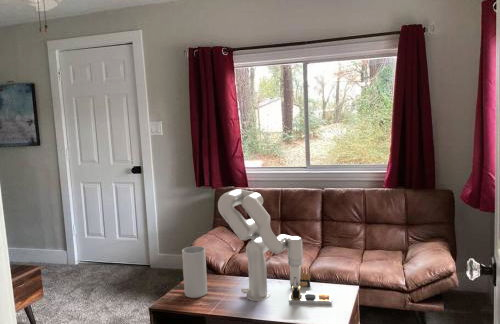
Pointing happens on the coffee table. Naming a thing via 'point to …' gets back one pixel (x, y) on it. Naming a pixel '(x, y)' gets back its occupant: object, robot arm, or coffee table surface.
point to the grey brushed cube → (309, 295)
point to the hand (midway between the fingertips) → (296, 294)
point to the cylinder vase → (194, 271)
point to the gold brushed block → (299, 293)
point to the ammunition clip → (304, 278)
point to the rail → (318, 300)
